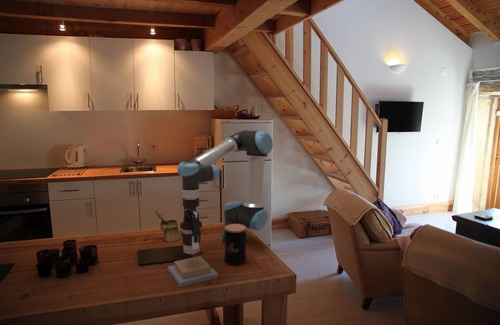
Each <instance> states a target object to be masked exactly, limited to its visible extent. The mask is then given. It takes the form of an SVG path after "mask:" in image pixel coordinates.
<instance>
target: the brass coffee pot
mask: <svg viewBox="0 0 500 325" xmlns="http://www.w3.org/2000/svg"><path fill="white" fill-rule="evenodd" d="M155 215H157V217H158V218H159V220H160V224H159V228H160V230H161V231H162V233H163V235H164V236H163V240H164V242H165V243H166V242H167V243H176V242H178V241H180V240H181V236H180V233H179V223H178V220H176V219H170V220H165V219H164V217H163V216H162V214H161V213H160V212H159V211H157V210H155ZM164 227H165V228H164Z"/></svg>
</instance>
